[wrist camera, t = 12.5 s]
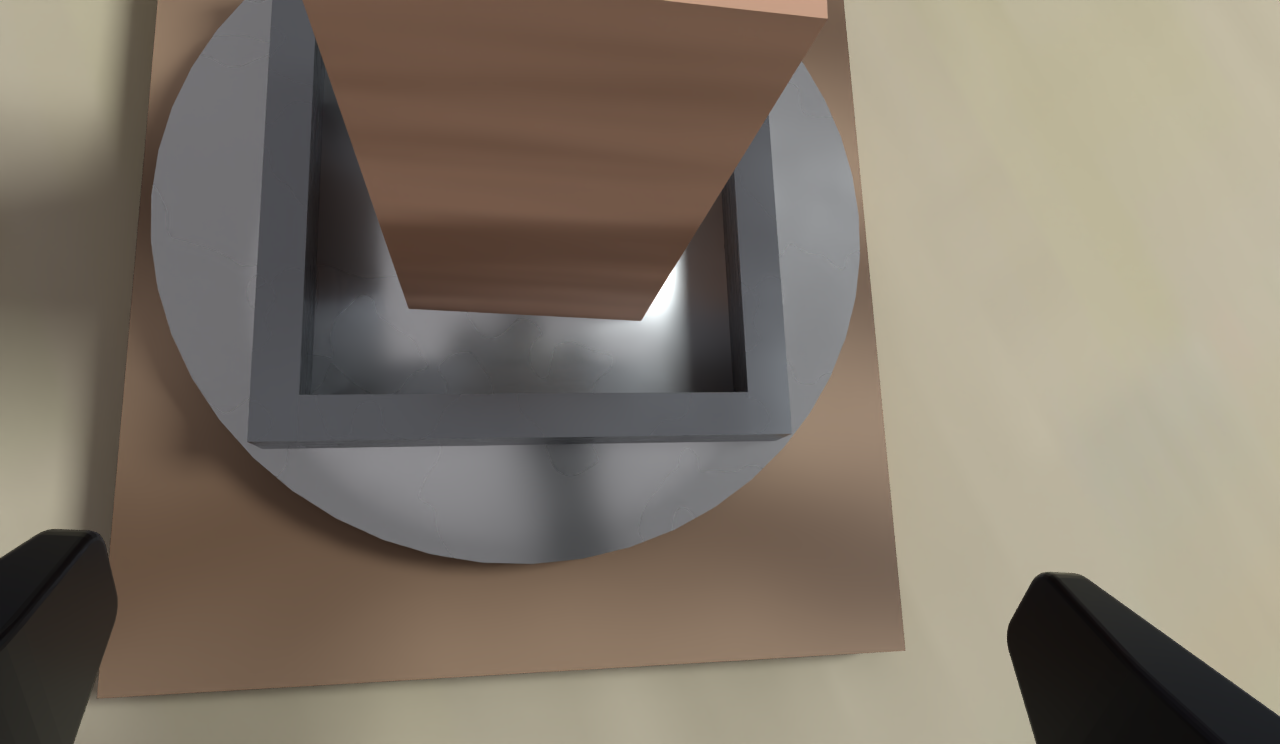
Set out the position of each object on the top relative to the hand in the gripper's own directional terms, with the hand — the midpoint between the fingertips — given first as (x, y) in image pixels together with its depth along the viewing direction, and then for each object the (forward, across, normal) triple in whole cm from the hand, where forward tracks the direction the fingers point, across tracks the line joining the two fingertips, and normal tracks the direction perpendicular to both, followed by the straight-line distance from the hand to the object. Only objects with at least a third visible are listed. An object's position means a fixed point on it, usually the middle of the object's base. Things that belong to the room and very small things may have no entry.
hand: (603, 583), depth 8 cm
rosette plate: (+12, +1, +2) cm, 12 cm away
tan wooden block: (+11, +1, 0) cm, 11 cm away
